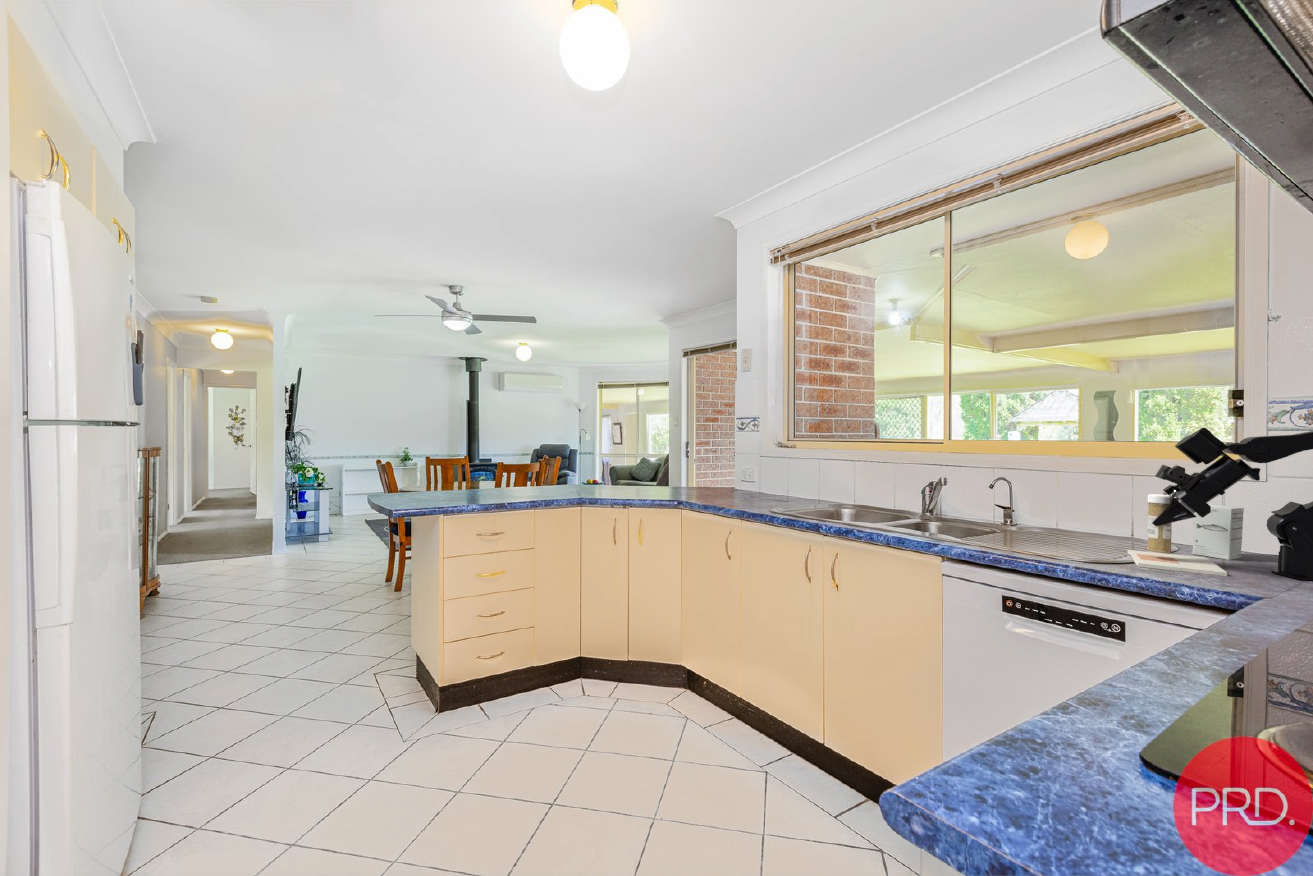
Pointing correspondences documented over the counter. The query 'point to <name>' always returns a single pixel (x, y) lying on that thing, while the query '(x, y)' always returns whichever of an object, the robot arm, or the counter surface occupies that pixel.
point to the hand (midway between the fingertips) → (1152, 523)
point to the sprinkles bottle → (1158, 534)
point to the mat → (1176, 562)
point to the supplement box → (1219, 532)
